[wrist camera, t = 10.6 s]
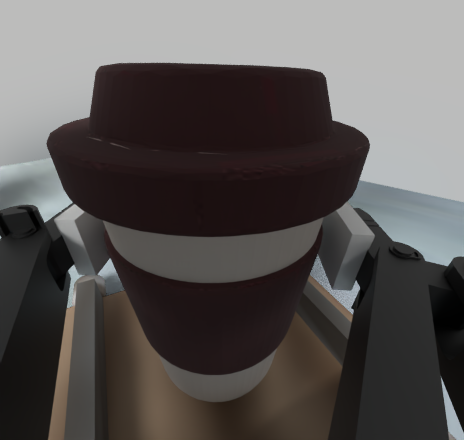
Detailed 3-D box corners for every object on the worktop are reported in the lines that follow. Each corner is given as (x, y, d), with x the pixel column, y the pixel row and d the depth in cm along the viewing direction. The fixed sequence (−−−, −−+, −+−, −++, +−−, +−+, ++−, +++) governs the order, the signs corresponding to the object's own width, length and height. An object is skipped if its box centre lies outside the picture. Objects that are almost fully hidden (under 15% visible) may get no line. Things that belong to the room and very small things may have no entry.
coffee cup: (236, 267, 21) (244, 73, 13) (328, 360, 14) (462, 73, 6) (121, 321, 16) (25, 64, 8) (179, 503, 9) (-63, 23, 1)
